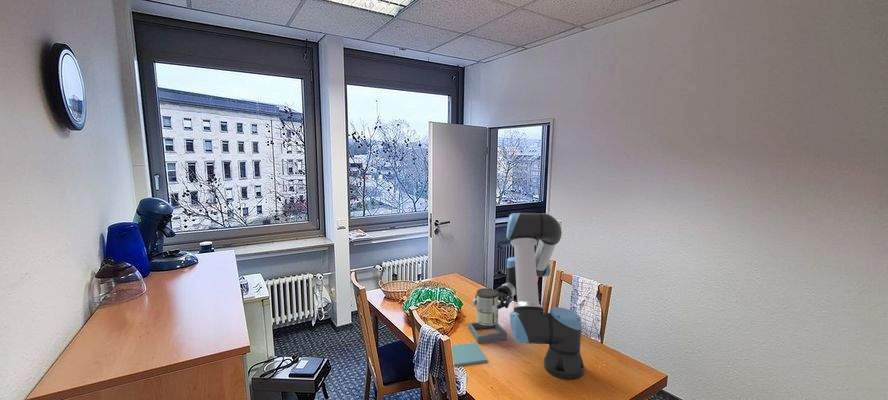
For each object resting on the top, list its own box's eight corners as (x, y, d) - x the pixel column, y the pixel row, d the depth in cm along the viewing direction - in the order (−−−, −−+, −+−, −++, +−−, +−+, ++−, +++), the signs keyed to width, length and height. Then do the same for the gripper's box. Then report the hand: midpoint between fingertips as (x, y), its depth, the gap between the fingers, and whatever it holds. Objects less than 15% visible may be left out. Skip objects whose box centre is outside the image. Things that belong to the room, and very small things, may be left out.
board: (487, 361, 145) (487, 359, 145) (454, 366, 142) (454, 364, 142) (476, 344, 159) (476, 342, 159) (445, 348, 155) (445, 346, 155)
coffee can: (476, 315, 173) (476, 287, 172) (497, 316, 172) (498, 288, 171) (476, 325, 163) (476, 295, 162) (498, 326, 162) (499, 296, 160)
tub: (506, 339, 163) (506, 333, 163) (477, 343, 160) (477, 336, 160) (495, 325, 177) (495, 319, 176) (468, 328, 173) (468, 322, 173)
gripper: (525, 304, 175) (504, 320, 157) (485, 294, 188) (462, 308, 170) (526, 289, 174) (505, 304, 156) (485, 280, 187) (462, 293, 170)
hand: (482, 306), depth 163 cm, fingers closed on coffee can, 10 cm apart
